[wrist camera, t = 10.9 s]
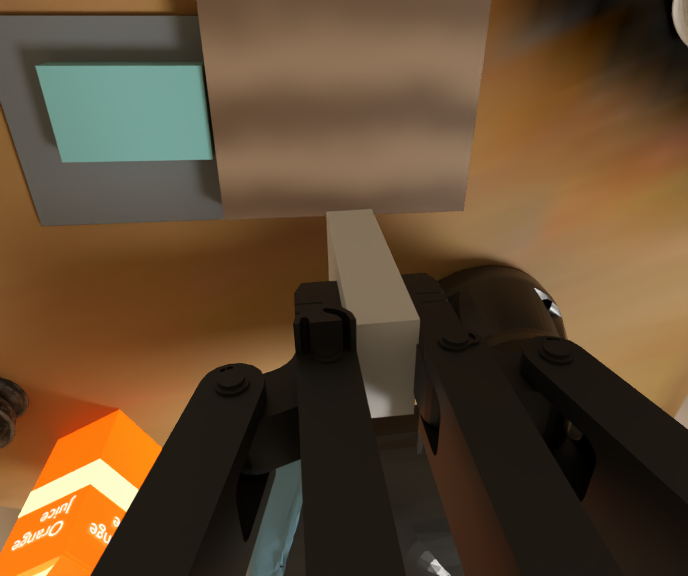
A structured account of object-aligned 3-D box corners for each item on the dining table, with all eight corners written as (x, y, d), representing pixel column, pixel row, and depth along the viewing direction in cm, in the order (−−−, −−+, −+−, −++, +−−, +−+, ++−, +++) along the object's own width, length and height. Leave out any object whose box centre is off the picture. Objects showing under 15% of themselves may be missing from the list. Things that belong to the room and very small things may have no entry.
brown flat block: (451, 197, 40) (463, 210, 38) (228, 205, 39) (224, 219, 36) (475, -1, 33) (491, -1, 31) (202, -3, 32) (196, -3, 29)
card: (216, 151, 36) (212, 159, 34) (72, 154, 35) (62, 162, 33) (205, 62, 33) (201, 65, 31) (48, 62, 32) (35, 65, 30)
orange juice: (120, 408, 48) (30, 638, 31) (176, 460, 52) (125, 687, 35) (55, 440, 49) (-67, 679, 32) (116, 488, 53) (38, 721, 36)
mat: (229, 217, 39) (229, 219, 39) (43, 224, 38) (41, 226, 38) (205, 15, 32) (204, 15, 32) (-25, 15, 31) (-28, 15, 30)
